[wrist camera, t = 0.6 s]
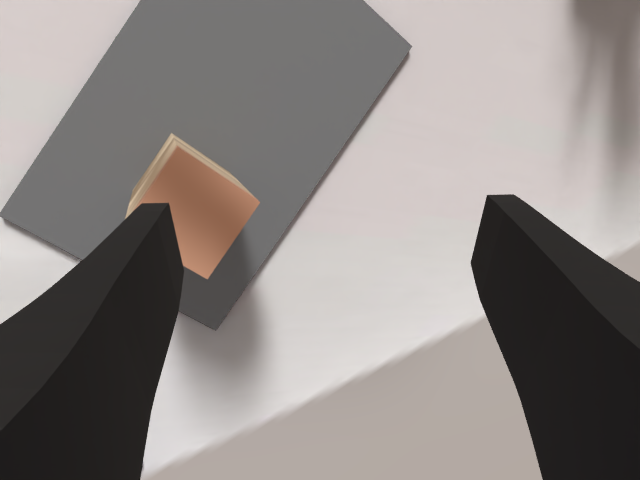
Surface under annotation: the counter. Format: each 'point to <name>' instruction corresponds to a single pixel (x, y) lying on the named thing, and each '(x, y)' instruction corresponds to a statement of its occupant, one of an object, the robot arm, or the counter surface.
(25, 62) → the counter surface
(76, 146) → the rubber mat
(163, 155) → the long block
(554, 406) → the robot arm
